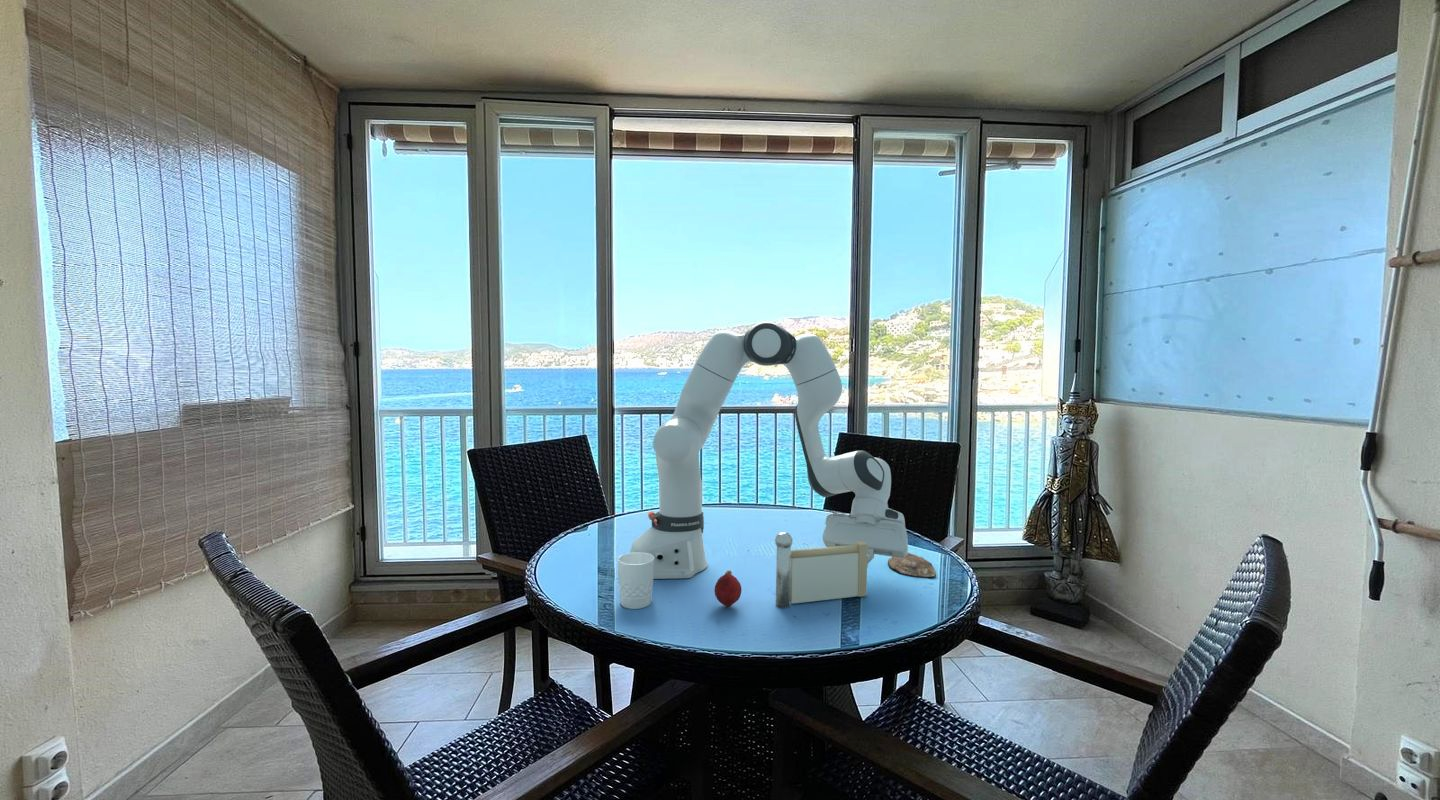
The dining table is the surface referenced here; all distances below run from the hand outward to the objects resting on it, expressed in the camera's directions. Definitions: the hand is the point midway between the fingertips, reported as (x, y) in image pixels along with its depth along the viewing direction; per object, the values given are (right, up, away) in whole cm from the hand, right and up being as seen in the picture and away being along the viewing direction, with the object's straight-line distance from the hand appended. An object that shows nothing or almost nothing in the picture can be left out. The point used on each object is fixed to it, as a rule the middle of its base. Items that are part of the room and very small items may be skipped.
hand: (860, 567), depth 129 cm
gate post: (-20, -5, -9) cm, 22 cm away
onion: (-32, -6, -11) cm, 34 cm away
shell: (+17, -5, +14) cm, 23 cm away
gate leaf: (-9, -5, -6) cm, 12 cm away
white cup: (-52, -5, -9) cm, 53 cm away
